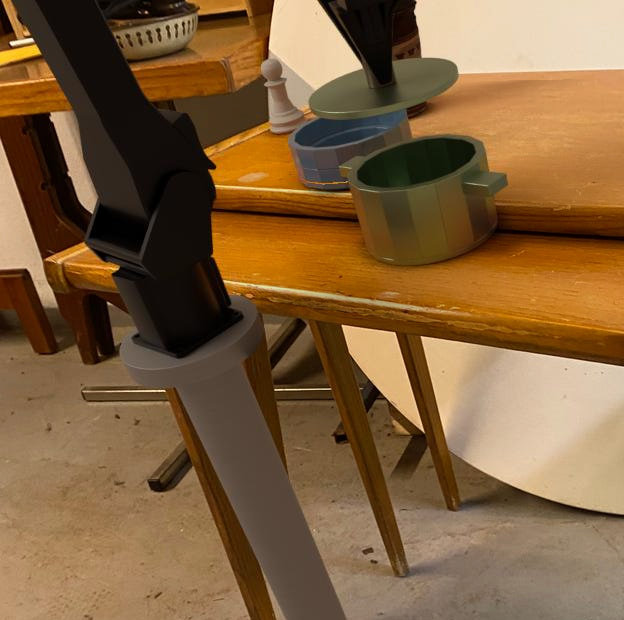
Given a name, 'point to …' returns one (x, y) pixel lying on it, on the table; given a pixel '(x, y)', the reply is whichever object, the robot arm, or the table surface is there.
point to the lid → (383, 89)
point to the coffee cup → (406, 40)
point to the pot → (424, 198)
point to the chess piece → (281, 100)
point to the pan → (342, 145)
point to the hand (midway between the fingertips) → (381, 79)
